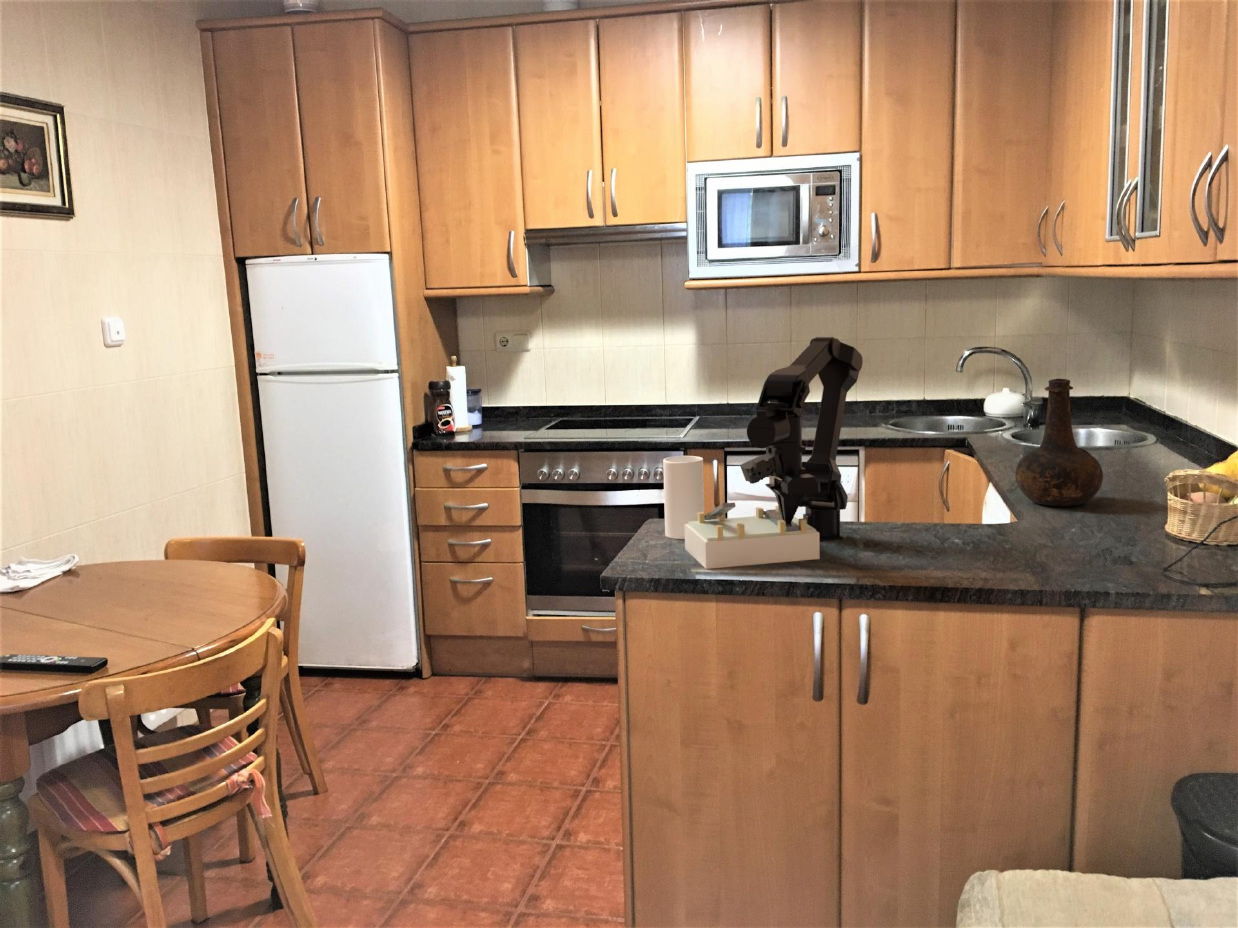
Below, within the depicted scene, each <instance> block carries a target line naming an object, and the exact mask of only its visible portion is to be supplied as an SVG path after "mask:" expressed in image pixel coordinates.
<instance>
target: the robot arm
mask: <svg viewBox="0 0 1238 928" xmlns="http://www.w3.org/2000/svg"><path fill="white" fill-rule="evenodd" d="M863 362H864V361H863V356H862V354H861V352H859V351H858V349H857V348H855V347H854V346H853V345H849V344H847V343H844V342H841V340H839V339H838V338H836V337H834V336H816V337H814V338H811V340H810V342H809V345H807V347H806V348H805V349H804V350H803V351H802V352H801V353H800V354H799V355H798V356H797V357H796V359H795V360H794V361H793V362H792V363H791V364H789V365H788V366H786V367H785V366H784V367H783V368H779V369H776V370H774V371H773V372H771V373H770V374H768V376H767V378H766V379H765V380H764V383H763V385H762V389H761V392H760V395H759V399H758V402H757V405H756V408H755V411H756V416H755V417H754V418H752V419H751V420H750V422H749V423H748V425H747V428H746V436H747V440H748V441H749V443H751V445H753V447H755V448H758V449H765V453H764V454H763V455H760V456H757V457H755V458H752V459H750V460H747V461H745V462H743V463H741V464H740V469H741V472H742V474H743V477H744V480H745V481H746V482H748V483H750V484H752V485H753V484H756V483H759V482H760V481H761V480H762V481H763V480H764V479H765V478H768V479H769V481H768V483H765V486H766V487H767V488H768V489H769V490H770V491H771V492H773V494H774V496H775V499H776V502H777V506H779V510H780V513H781V517H782V520H784V521H785V523H791V522H792V520H793V517H795V516H796V513H797V511H798V509H799V508H803V507H804V508H805V513H803V514H802V518H804V519H806V524H808V525H809V526H811V527H813V528H814V529H816V531H817V532H819V541H828V540H839V539H840V540H841V539H844V535H843V534H841V510H846V509H847V505H848V503H849V502H848V498H849V497H848V494H847V492H846V490H845V488H844V486H843V484H842V473H841V471H840V469H839V466H838V464H837V462H836V461H837V455H838V454H837V453H838V448H839V442H840V436H841V431H842V430H841V429H842V423H843V418H844V411H845V407H846V406H845V405H846V401H847V395H848V392H849V391H850V390H851V389H852V388H853V386H855V385H856V383H857V381H858V379H859V374H860V371H861V370H862V367H863ZM816 376H818V378H819V380H820V382H821V384H822V387H823V388H822V394H821V400H820V406H819V412H818V417H817V423H816V428H815V434H814V441H813V447H812V453H811V456H810V457H809V459H808V460H807V461H803V460H802V459H803V453H806V446H804V445H802V444H803V441H802V440H803V437H802V435H803V434H802V433H803V431H802V430H803V429H802V427H803V425H802V420H803V419H802V416H803V415H805V413H806V410H805V409H804V407H803V406H804V404H805V403H806V400H807V398H808V396H809V394H810V393H811V388H810V383H811V382H812V381H813V380H814V378H815V377H816Z"/></svg>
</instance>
